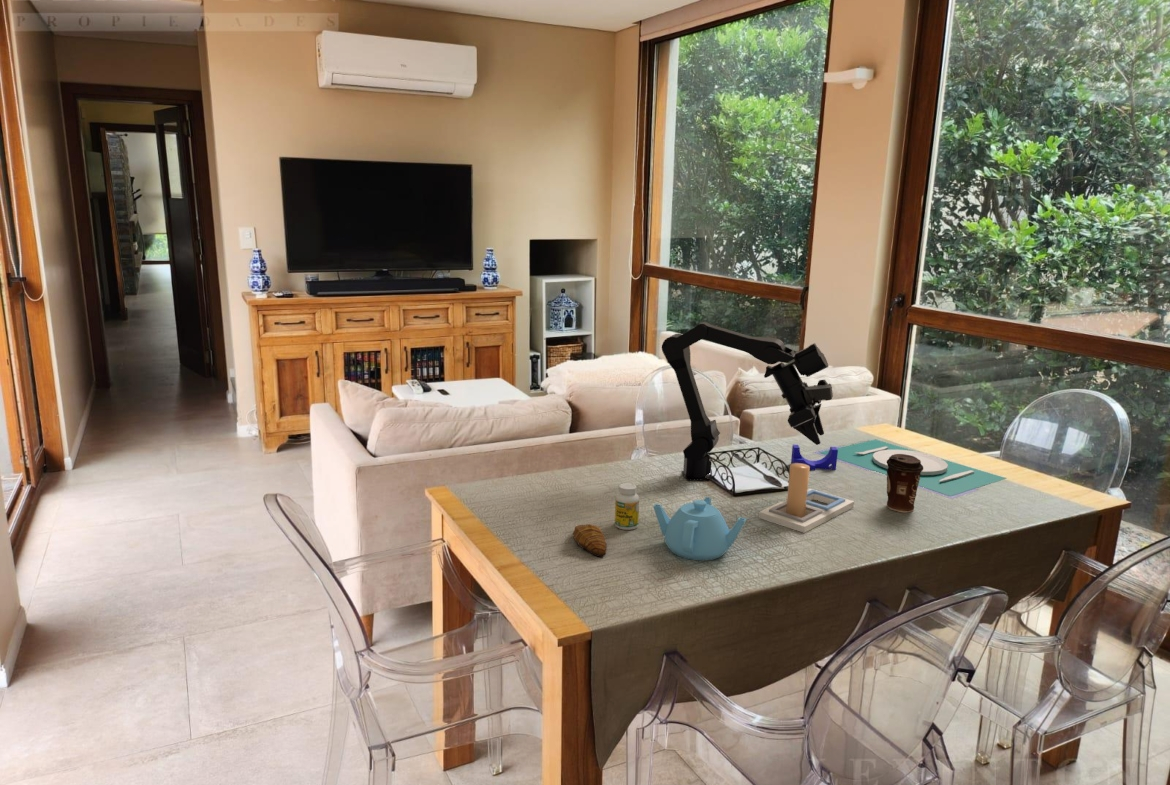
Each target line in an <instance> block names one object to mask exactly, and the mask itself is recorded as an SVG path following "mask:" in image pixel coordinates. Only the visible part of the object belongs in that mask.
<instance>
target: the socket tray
mask: <svg viewBox="0 0 1170 785" xmlns="http://www.w3.org/2000/svg"><path fill="white" fill-rule="evenodd" d="M812 500H814V501H817V500H818V501H817V502H821V503H825V504H827V505H824V504H820V503H817V502H814V501H812ZM786 506H787V498H786V499H785V500H781V501H779V502H778V503H775V504H773V505H771V506H769V507H767V508H765V509H762V510H760V511H759V512H758V519H761V520H763V521H767V522H770V523H774V524H776V525H779V526H782V527H785V528H788V529H792V530H795V531H796V532H797V531H798V532H801V533H802V534H803V533H804V534H806V533H808V532H809V531H811V530H812V529H815V528H816V527H819V526H820V525H822V524H824V523H826V522H828V521H830V520H832V519H833V517H834V518H836V517H837V516H839V515H841V514H843V513H845V512H847V511H849V510H851V509H853V508H854V506H855V501H854V500H852V499H848V498H844V497H841V496H838V495H835V494H831V493H829V492H824V491H821V490H816V489H814V488H808V490H807V500H806V510H805V516H804V517H802V518H800V517H797V516H794V515H791V514H788V513H786ZM835 516H836V517H835ZM831 518H832V519H831Z"/></svg>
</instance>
